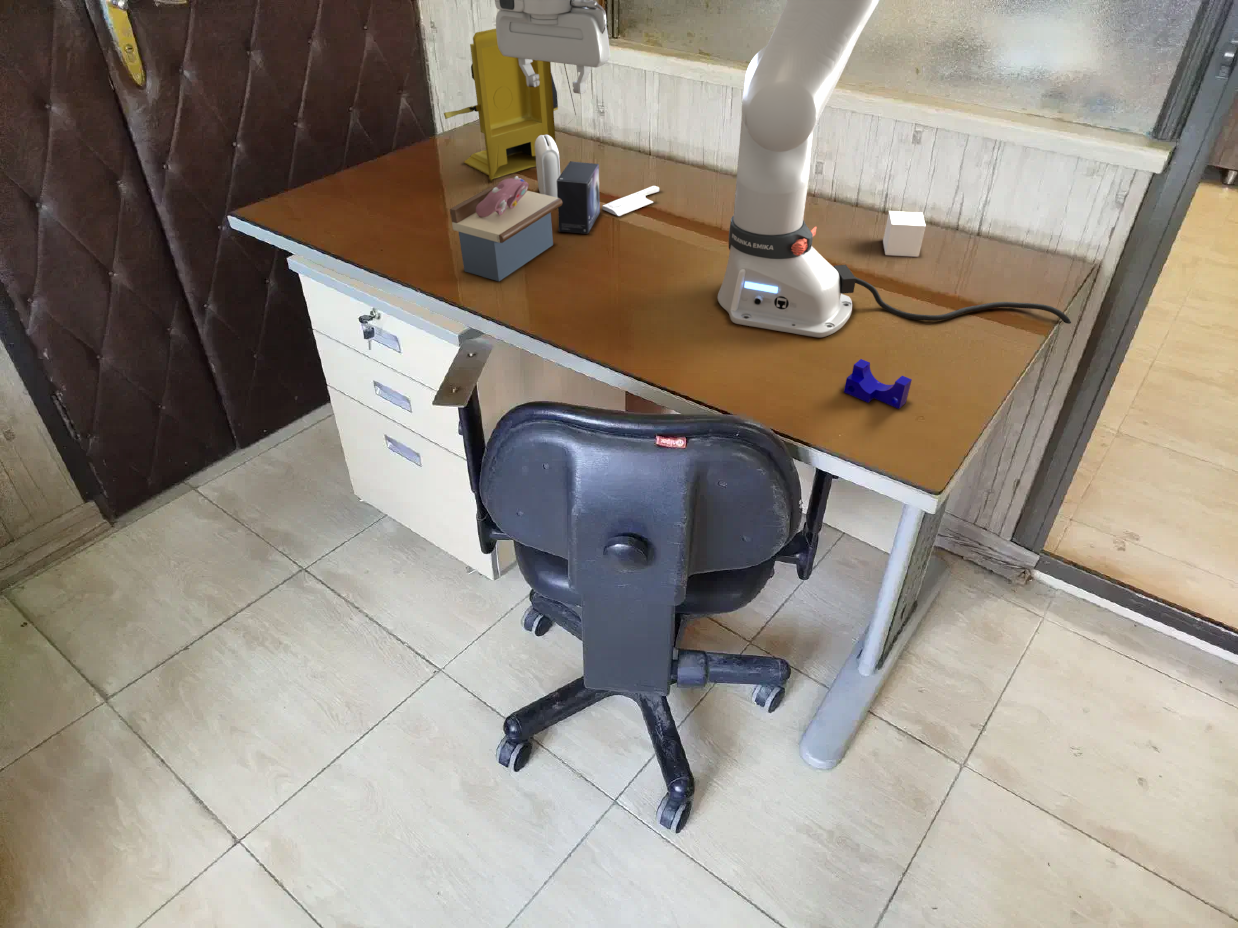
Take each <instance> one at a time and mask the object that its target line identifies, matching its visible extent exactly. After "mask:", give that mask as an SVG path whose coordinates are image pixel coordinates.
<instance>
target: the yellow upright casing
mask: <svg viewBox="0 0 1238 928" xmlns="http://www.w3.org/2000/svg"><path fill="white" fill-rule="evenodd" d="M469 48H470V55H471V61H472V62H471V66H470V71H471V78H472V80H473V81H474V89H475V96H476V97H475V98H476V104H475V105H471V106H470V105H469V106H467V107H464V108H461V109H458V110H452V111H446V112H443V117H444V119H445V120H447V119H450V118H452V117H456V116H458V115H463V114H468V113H473V112H478V120H479V128H480V133H482V134H483V136H484V144H485V149H483V150H480V151H477V152H473V153H472V154H471V155H470V156H469V157H468V158H467V159H466V160H464V161H463V162H464V164H465V165H467V166H468V167H470V168H473V169H475V170H477V171H479V172H481V173H483V174H484V175H486V176H488V177H489V182H490V183H493V180H494V179H498V178H501V177H505V176H508V175H510V174H511V175H512V174H514V173H517V172H521V171H524V170H527V169H530V168H534V167H536V155H535V141H536V139H537V138H538V136H540V135H549V136H550V137H552V139H553V140H554V141H555V143H556V142H557V141H556V126H555V112H556V111H557V110H558V109H559V102H558V91H557V87H556V84H555V80H554V77H553V73H552V66H551V65H552V64H551V63H552V62H547V61H539V60H533V62H531V63H530V64H531V66H532V68H533V70H534V72H535V74H539V82H540V83H539V86H536V87H529V86H527V82H526V76H525V74H524V73H523V71H522V69H521V67H520V66H519V60H518V58H515V57H507V56H503V55H502V53H501V52H500V50H499V48H498V43H497V34H496V28H492V29H491V28H490V29H486V30H482V31H481V30H480V31H476V32H475V33H474V34H473V37H472V43H470V44H469ZM563 65H564V71H565V75H566V79H567V84H568V88H569V94H570V98H571V102H572V107H573V111H574V115H575V116H574V117H577V113H576V108H575V103H574V100H573V99H574V98H573V95H572V90H571V85H570V81H569V76H568V72H567V68H566V64H563ZM571 121H572V120H570V122H568V124H570V123H571ZM563 130H564V129H563ZM563 130H561V131H560V133H562V132H563ZM556 144H557V143H556Z"/></svg>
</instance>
